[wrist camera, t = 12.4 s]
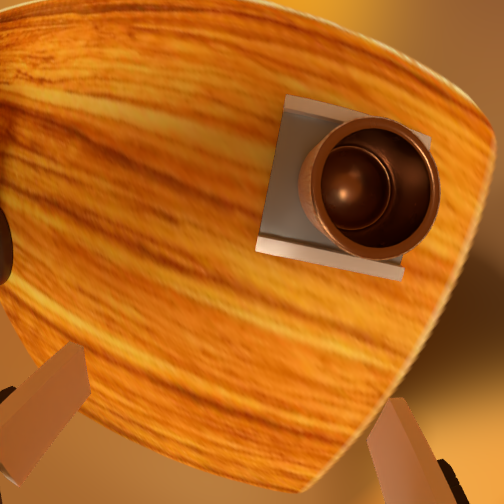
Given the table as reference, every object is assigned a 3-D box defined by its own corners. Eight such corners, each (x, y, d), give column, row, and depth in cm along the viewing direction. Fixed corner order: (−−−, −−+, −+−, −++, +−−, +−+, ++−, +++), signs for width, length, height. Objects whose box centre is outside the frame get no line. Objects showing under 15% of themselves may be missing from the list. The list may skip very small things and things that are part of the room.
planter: (339, 115, 27) (364, 86, 18) (414, 183, 28) (463, 183, 19) (275, 195, 29) (275, 197, 20) (355, 260, 30) (385, 290, 21)
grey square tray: (257, 244, 33) (255, 251, 29) (285, 103, 29) (286, 94, 26) (390, 272, 32) (401, 281, 29) (417, 141, 29) (431, 137, 25)
